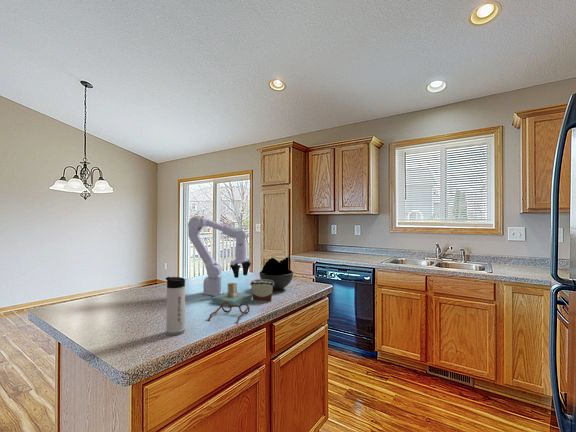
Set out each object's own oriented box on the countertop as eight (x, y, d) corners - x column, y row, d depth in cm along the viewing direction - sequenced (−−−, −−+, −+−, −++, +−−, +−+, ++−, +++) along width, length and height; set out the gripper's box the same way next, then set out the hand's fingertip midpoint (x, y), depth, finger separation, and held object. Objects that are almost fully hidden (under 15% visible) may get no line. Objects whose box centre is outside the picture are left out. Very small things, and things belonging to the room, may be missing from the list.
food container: (275, 298, 149) (276, 279, 149) (274, 301, 143) (274, 281, 143) (252, 297, 150) (252, 278, 150) (249, 301, 144) (250, 281, 144)
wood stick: (227, 301, 144) (227, 283, 144) (230, 300, 146) (230, 282, 146) (233, 302, 142) (233, 284, 142) (236, 301, 144) (236, 283, 144)
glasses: (249, 314, 125) (249, 303, 125) (237, 325, 112) (237, 312, 112) (222, 312, 128) (222, 301, 128) (207, 322, 115) (207, 310, 115)
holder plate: (211, 302, 141) (211, 297, 141) (230, 296, 153) (230, 291, 153) (233, 306, 134) (233, 301, 134) (251, 299, 146) (251, 294, 146)
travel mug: (168, 329, 107) (169, 275, 107) (186, 328, 107) (187, 275, 108) (162, 336, 101) (163, 279, 101) (182, 335, 101) (182, 278, 101)
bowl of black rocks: (255, 292, 160) (255, 259, 161) (264, 284, 180) (264, 254, 180) (290, 294, 157) (290, 260, 157) (295, 286, 177) (295, 255, 177)
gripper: (237, 253, 151) (237, 279, 151) (254, 251, 164) (254, 274, 163) (227, 252, 155) (227, 278, 154) (244, 250, 167) (244, 273, 167)
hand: (240, 276), depth 159 cm, fingers open, 7 cm apart
